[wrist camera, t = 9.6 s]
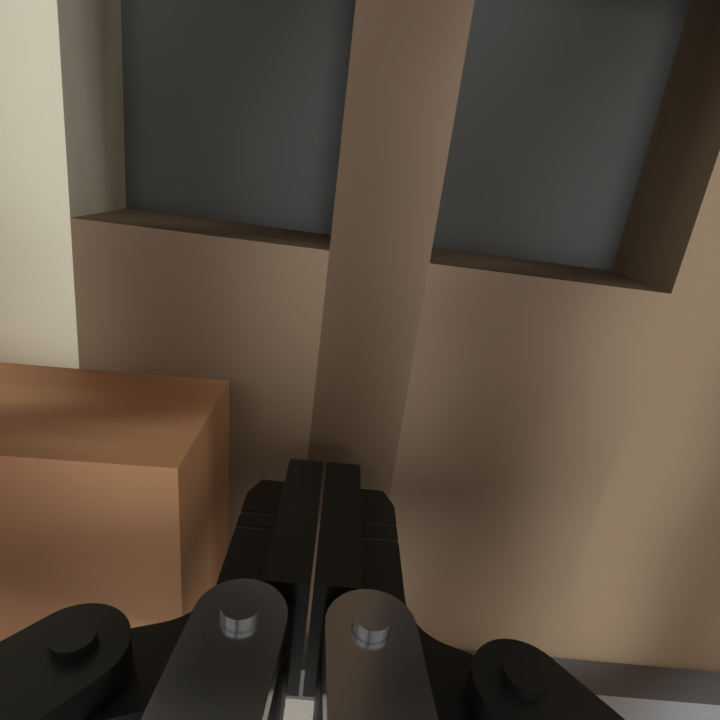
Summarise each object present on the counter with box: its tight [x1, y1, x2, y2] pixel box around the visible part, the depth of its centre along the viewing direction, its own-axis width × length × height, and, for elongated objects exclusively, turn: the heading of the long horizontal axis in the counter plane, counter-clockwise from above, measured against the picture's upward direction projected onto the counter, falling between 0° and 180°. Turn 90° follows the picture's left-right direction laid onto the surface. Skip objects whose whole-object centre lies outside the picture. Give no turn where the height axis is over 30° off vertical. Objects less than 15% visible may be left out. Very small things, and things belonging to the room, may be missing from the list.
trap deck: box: [0, 0, 720, 720], centre depth 12 cm, size 26×18×4 cm
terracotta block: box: [0, 363, 229, 641], centre depth 10 cm, size 6×6×4 cm
